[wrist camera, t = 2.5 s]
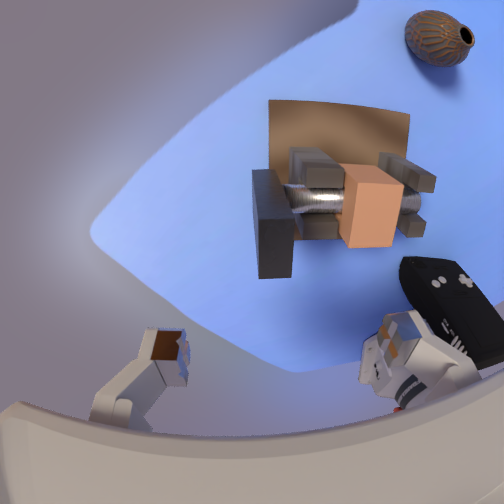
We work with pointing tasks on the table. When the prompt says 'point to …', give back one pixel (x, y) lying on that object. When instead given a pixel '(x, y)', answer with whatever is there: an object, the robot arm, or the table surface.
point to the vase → (438, 38)
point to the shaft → (283, 221)
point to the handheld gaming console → (454, 308)
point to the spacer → (369, 207)
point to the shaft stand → (340, 155)
